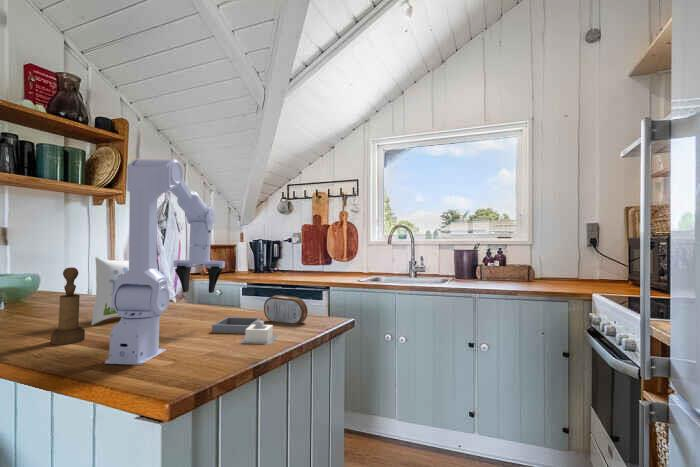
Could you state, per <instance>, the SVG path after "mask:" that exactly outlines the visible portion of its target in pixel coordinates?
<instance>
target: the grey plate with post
mask: <svg viewBox="0 0 700 467" xmlns="http://www.w3.org/2000/svg"><path fill="white" fill-rule="evenodd" d="M264 325H265V321H264V320H263V319H262V320H259V321H256V329H264ZM278 337H279V335H277V334H273V337H272V338H271V339H270V340H269V341H268V342H245V337H244V338H242V339H241V340H240V341H239V342H238V344H252V345H254V344H256V345H257V344H258V345H263V344H264V345H272V344H273V343H274V341H275V340H276V339H277V338H278Z"/></svg>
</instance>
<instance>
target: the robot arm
mask: <svg viewBox="0 0 700 467" xmlns="http://www.w3.org/2000/svg"><path fill="white" fill-rule="evenodd" d="M183 171H184V169H183V166H182V164H181V163H180V161H179V160H178V159H176V158H171V159H157V158H156V159H155V158H154V159H150V158H149V159H146V158H144V159H143V158H138V157H137V158H134V159H133V160H131V162H129V163H128V164H127V171H126V172H127V173H126V178H127V179H126V181H127V182H126V188H127V189H126V190H127V192H129V213H128V214H129V218H128V219H129V220H128V221H129V222H128V223H129V227H128V231H129V233H128V246H129V247H128V260H129V270H128V271H127V272H126V273H124V274H123V275H122V276H120V277H119V278H118V279H116V280H115V289H114V292H113V295H112V305H113V308H114V310H115V311H116V312H118V316H117V317H120V319H119V322H117V323H115V324H114V325H113V326H112V328H111V330H110V333H109V347H108V349H109V351H108V352H109V353H108V359H106V360H104V364H108V365H139V366H141V365H145V362H148V361H149V360H151V359H152V358H154V357H156V356H158V355H160V354H162V353H163V352H165V351H167V349H166V348H159V347H160V346H159V344H160V320H161V319H160V318H161V317H160V315H162V314H164V312H165V311H166V309H167V308H168V307H169V304H170V301H171V300H170V299H171V297H170V296H171V295H170V294H171V293H170V290H169V288H168V279H167V277H166V276H165V275H164V274H162V273H161V272H160V271H159V270H158V269H157V259H158V258H157V257H158V256H157V254H158V252H157V251H158V248H157V247H158V239H157V238H158V200H159V198H160V197H161V196H162V195H163V194H165V193H168V192H171V193H172V194H173V195H174V196H175V198H177V200H176V203H177V205H178V206H179V208H180V209H181V210H182V211H183V212H184V215H185V218H186V221H187V223H188V224H189V245H188V250H189V251H188V260H187V259H186V260H185V259H174V260H173V266H172V267H174V271H175V273H176V275H177V277H178V279H179V281H180V285H181V289H182V293H187V292H189V290H190V275H191V271H192V268H207V274H208V294H211V293H212V294H213V293H214V292H215V288H216V285H217V282H218V280H219V278H220V275H221V273H222V272H223V269H224V268H226V261H224V260H211V241H212V240H211V236H212V231H213V228H214V222H215V219H216V214H215V210H214V207H212V206H210V205H207V204H206V203H205V202H204V201H203V199H202V198H201V197H200V195H199V194H198V193H197V192H196V190H191V189H190V188H189V187H188V185H187V183H186V182H185V180H184V172H183ZM139 284H148V285H139Z"/></svg>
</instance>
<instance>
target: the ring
mask: <svg viewBox="0 0 700 467" xmlns="http://www.w3.org/2000/svg"><path fill="white" fill-rule="evenodd" d="M273 330H274V325H273V324H264V329H256V325H253V324H252V325H251V326H249V327H248V328H247V329H245V334H244V338H245V342H268V341H269V340H270V339H271V338H272V337H273V335H274V334H273V333H274V331H273Z"/></svg>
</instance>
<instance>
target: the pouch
mask: <svg viewBox="0 0 700 467" xmlns="http://www.w3.org/2000/svg"><path fill="white" fill-rule="evenodd" d="M94 259H95V270H96V272H95V275H96V276H95V280H96V281H95V283H96V284H95V285H96V287H95V288H96V290H95V298H94V304H93V305H94V306H93V313H92V319H91V326H94V325H96V324H98V323H100V322H102V321H105V320H108V319H111V318H115V317H119V316H118V312H116V311H115V310H114V308H113V305H112V295H113V292H114V289H115V280H116V279H118V278H119V277H120V276H122V275H123V274H124V273H126V272H127V271H128V270H129V259H128V260H118V259H114V260H113V259H111V260H110V259H104V258H101V257H99V256H95V258H94ZM139 285H148V284H139Z"/></svg>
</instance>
